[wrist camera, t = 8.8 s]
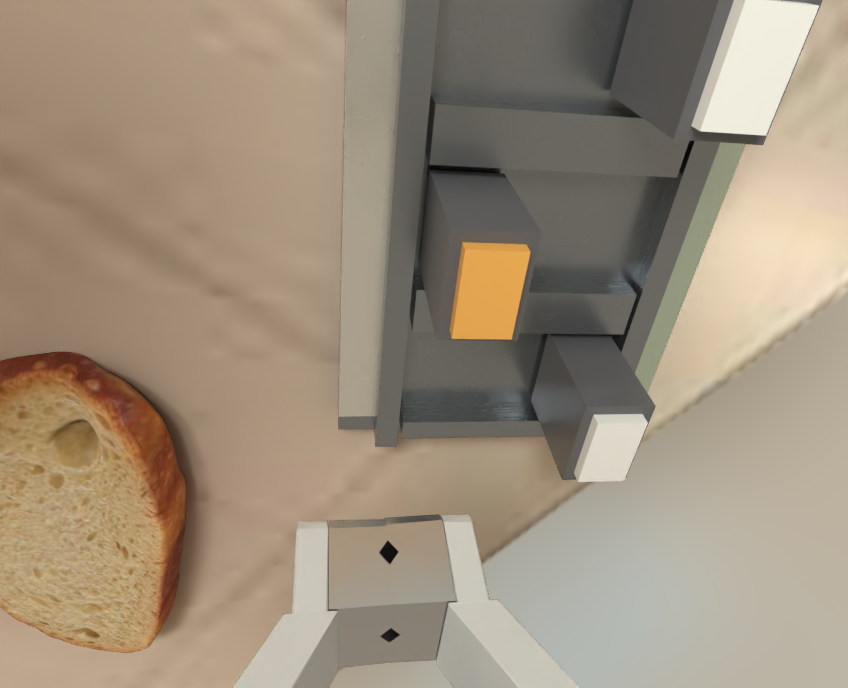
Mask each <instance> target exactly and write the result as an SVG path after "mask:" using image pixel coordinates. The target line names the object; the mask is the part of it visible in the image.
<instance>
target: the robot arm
mask: <svg viewBox="0 0 848 688" xmlns="http://www.w3.org/2000/svg"><path fill="white" fill-rule="evenodd" d="M429 660H437V661H436V663H437V665H438V666H439V668H440V669H441V671H442V672H443V673H444V675H445V676H446V678H447V679H448V681H449V682H450V684H451V685H452V687H453V688H580V687H579V686H578V685H577V684H576V683H575V682H574V681H573V680H572V679H571V678H570V676H569V675H568V674H567V673H566V672H565V671H564V670H563V669H562V668H561V667H560V666H559V665H558V664H557V663H556V661H555V660H554V659H553V658H552V657H551V656H550V655H549V654H548V653H547V652H546V651H545V649H544V648H543V647H542V646H541V645H540V644H539V643H538V642H537V641H536V640H535V639H534V638H533V637H532V635H531V634H530V633H529V632H528V631H527V630H526V629H525V628H524V627H523V626H522V625H521V624H520V622H519V621H518V620H517V619H516V618H515V617H514V616H513V615H512V614H511V613H510V612H509V611H508V610H507V608H506V607H505V606H504V605H503V604H502V603H501V602H500V601H499V600H490V598H489V594H488V590H487V585H486V581H485V576H484V571H483V567H482V562H481V558H480V554H479V549H478V545H477V540H476V536H475V531H474V527H473V522H472V519H471V518H470V516H469V515H468V514H456V515H441V516H440V515H424V516H408V517H392V518H384V519H365V520H329V522H328V520H324V521H301V522H298V526H297V531H296V551H295V571H294V591H293V611H292V613H290V614H283V615H282V617H281V618H280V620H279V621H278V623H277V624H276V626H275V627H274V629H273V630H272V631H271V633H270V634H269V636H268V637H267V639H266V640H265V642H264V643H263V645H262V646H261V647H260V649H259V650H258V652H257V653H256V655H255V656H254V658H253V659H252V661H251V662H250V663H249V665H248V666H247V668H246V669H245V671H244V672H243V674H242V675H241V677H240V678H239V679H238V681H237V682H236V684H235V685H234V687H233V688H329V687H330V685H331V683H332V681H333V679H334V677H335V676H336V674H337V668H344V667H353V666H362V665H371V664H380V663H392V662H410V661H429Z"/></svg>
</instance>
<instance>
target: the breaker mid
mask: <svg viewBox="0 0 848 688" xmlns="http://www.w3.org/2000/svg"><path fill="white" fill-rule="evenodd" d="M540 238H541V231H540V229H539V228H538V226H537V225H536V223H535V221H534V220H533V218H532V217H531V215H530V214H529V212H528V210H527V209H526V207H525V206H524V204H523V202H522V201H521V199H520V198H519V196H518V194H517V193H516V191H515V190H514V188H513V186H512V185H511V183H510V182H509V180H508V179H507V177H506V175H505V174H502V173H483V172H463V171H444V170H429V178H428V188H427V197H426V207H425V217H424V227H423V236H422V246H421V256H420V266H419V269H420V273H421V277H422V281H423V286H424V290H425V294H426V298H427V303H428V307H429V311H430V315H431V320H432V324H433V328H434V332H435V336H436V340H484V341H518V336H519V332H520V327H521V323H522V319H523V314H524V310H525V305H526V301H527V296H528V292H529V287H530V283H531V278H532V274H533V269H534V265H535V260H536V256H537V251H538V247H539V242H540Z"/></svg>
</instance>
